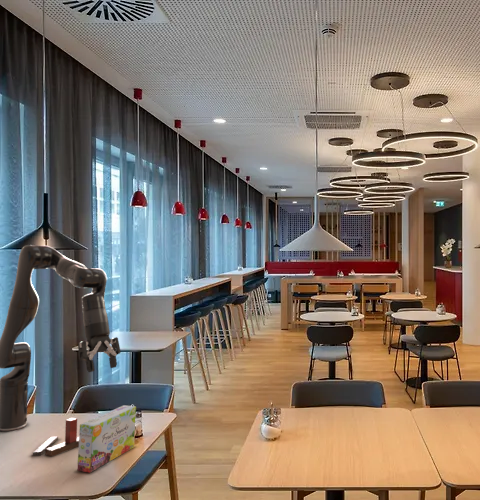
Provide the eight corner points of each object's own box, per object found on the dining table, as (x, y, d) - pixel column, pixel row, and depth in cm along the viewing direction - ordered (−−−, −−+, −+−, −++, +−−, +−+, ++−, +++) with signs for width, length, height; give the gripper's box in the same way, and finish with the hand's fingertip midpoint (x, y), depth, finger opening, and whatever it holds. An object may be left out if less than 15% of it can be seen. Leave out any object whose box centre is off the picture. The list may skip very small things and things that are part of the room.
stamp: (45, 454, 160) (46, 425, 160) (87, 438, 175) (88, 411, 175) (51, 456, 158) (52, 427, 159) (94, 440, 173) (95, 413, 173)
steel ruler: (32, 455, 159) (32, 452, 159) (50, 440, 172) (50, 436, 173) (40, 455, 159) (40, 451, 159) (58, 439, 173) (58, 436, 173)
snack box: (91, 473, 147) (93, 425, 147) (76, 471, 148) (78, 424, 148) (135, 447, 168) (136, 405, 168) (121, 445, 169) (123, 404, 169)
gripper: (106, 324, 170) (113, 368, 167) (69, 327, 157) (75, 375, 154) (121, 319, 167) (127, 364, 164) (84, 322, 154) (91, 371, 151)
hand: (102, 369), depth 159 cm, fingers open, 8 cm apart
